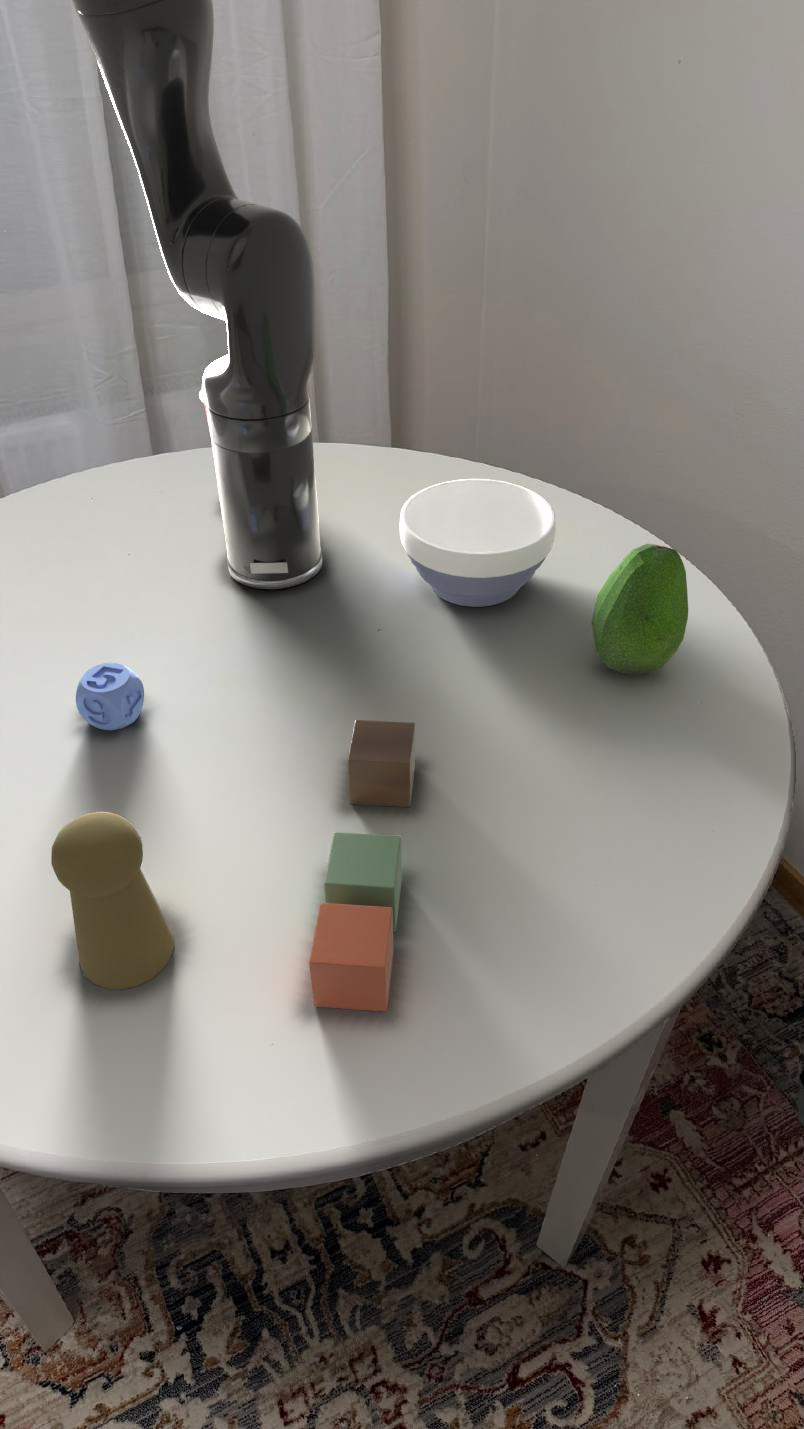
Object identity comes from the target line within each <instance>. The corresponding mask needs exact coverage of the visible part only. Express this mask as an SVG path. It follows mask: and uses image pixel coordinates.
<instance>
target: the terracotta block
mask: <svg viewBox="0 0 804 1429" xmlns="http://www.w3.org/2000/svg"><path fill="white" fill-rule="evenodd" d="M394 948H395V947H394V932H393V911H392V907H378V906H362V905H346V904H330V903H326V902H321V903H320V904H319V907H318V914H317V918H316V924H315V928H314V934H313V939H312V944H311V950H310V955H309V960H308V966H309V975H310V984H311V990H312V991H311V992H312V1000H313V1006H314V1007H315V1008H316V1007H318V1008H328V1009H329V1008H330V1009H343V1010H344V1009H346V1010H357V1011H358V1010H360V1011H370V1012H371V1011H372V1012H384V1013H385V1012H387V1011H388V1005H389V997H390V996H389V995H390V987H391V979H392V978H391V977H392V971H393V970H392V969H393V963H394V962H393V961H394V953H395V952H394Z"/></svg>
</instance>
